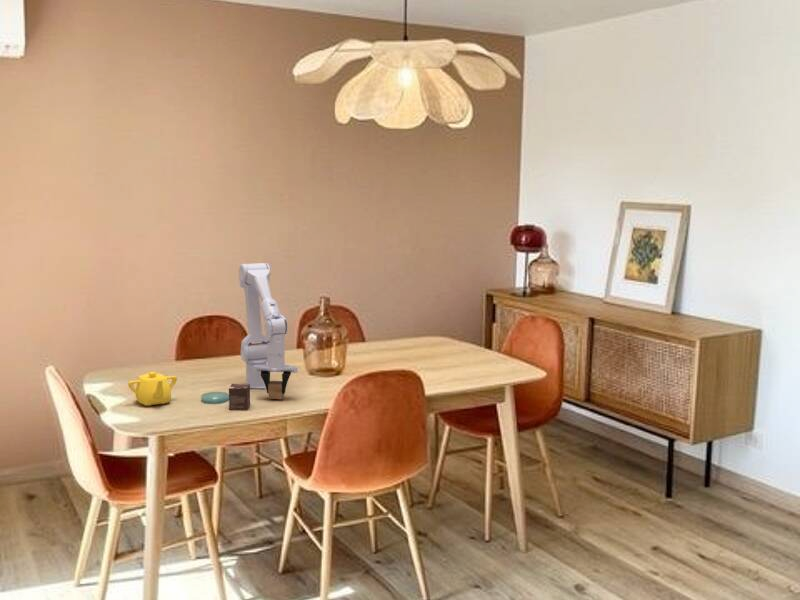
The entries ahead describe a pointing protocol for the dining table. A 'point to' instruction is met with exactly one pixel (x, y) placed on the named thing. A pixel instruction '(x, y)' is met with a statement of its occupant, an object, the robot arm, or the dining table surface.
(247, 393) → the box
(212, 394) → the coaster
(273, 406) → the dining table surface
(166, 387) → the teapot
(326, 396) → the dining table surface
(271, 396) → the walnut block
